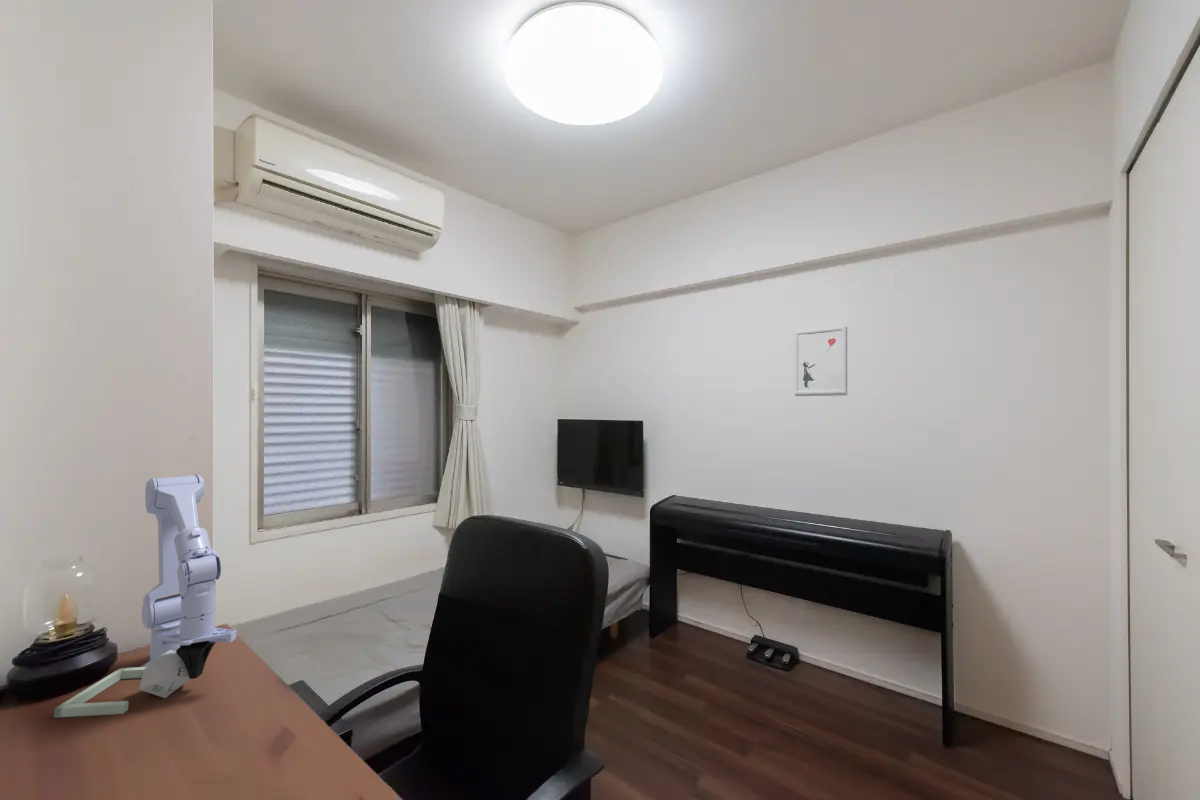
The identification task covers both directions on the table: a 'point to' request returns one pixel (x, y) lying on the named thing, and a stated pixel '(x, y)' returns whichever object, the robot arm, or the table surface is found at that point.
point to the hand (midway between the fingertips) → (196, 676)
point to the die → (164, 675)
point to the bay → (80, 708)
